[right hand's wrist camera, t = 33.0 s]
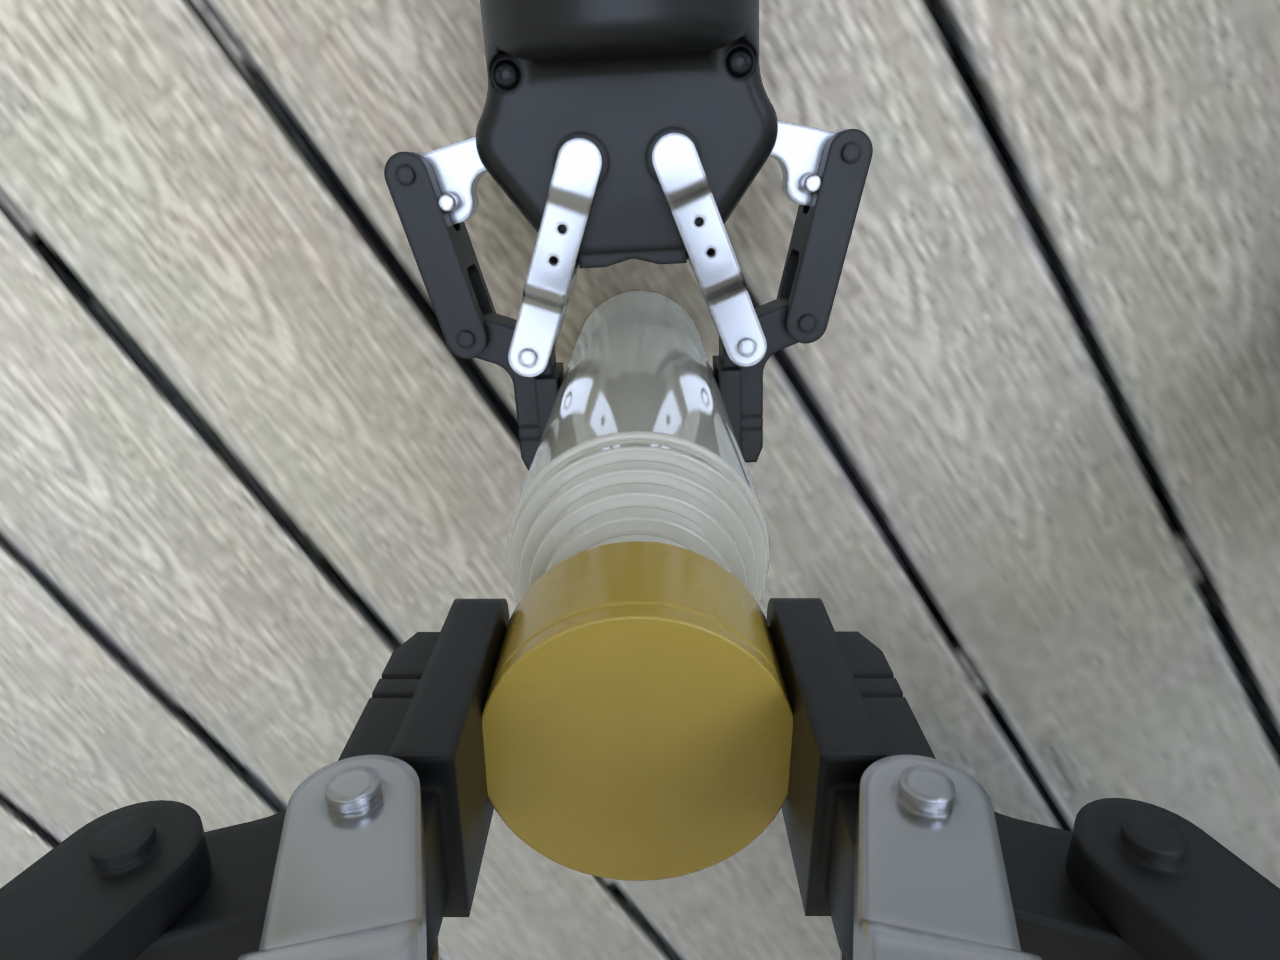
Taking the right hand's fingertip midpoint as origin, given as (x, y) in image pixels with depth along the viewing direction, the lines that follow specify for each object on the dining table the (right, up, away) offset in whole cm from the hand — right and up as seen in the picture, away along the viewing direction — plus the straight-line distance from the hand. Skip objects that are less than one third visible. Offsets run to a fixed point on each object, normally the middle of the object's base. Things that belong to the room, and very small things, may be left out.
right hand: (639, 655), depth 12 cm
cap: (0, -1, -2) cm, 2 cm away
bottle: (0, +8, +21) cm, 22 cm away
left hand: (0, +3, +15) cm, 15 cm away
